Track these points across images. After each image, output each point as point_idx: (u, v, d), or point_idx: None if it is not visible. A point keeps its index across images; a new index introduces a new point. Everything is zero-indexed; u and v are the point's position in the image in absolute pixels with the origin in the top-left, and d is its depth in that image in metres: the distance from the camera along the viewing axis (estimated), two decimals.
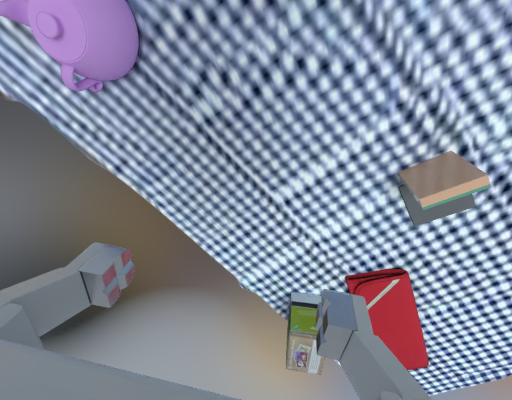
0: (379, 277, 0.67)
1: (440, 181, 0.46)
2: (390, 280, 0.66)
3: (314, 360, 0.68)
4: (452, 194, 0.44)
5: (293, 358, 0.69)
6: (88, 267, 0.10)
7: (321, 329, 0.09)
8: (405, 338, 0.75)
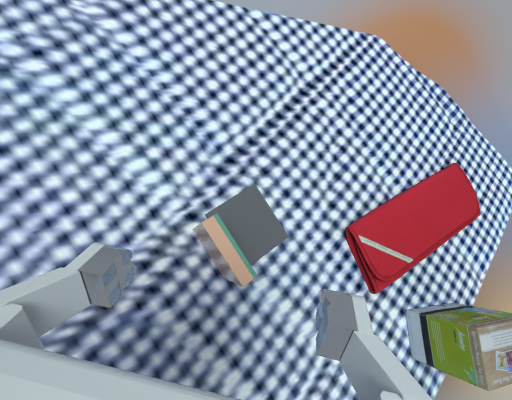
0: (362, 256, 0.53)
1: (220, 258, 0.37)
2: (362, 244, 0.52)
3: None
4: (231, 250, 0.35)
5: None
6: (88, 267, 0.10)
7: (321, 329, 0.09)
8: (431, 201, 0.62)
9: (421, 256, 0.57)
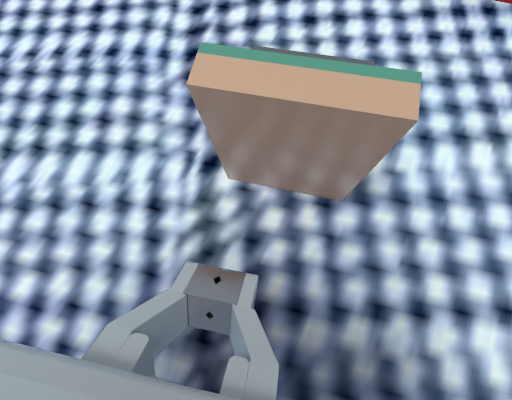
0: None
1: (302, 137, 0.14)
2: None
3: None
4: (306, 77, 0.12)
5: None
6: (193, 289, 0.09)
7: None
8: None
9: None
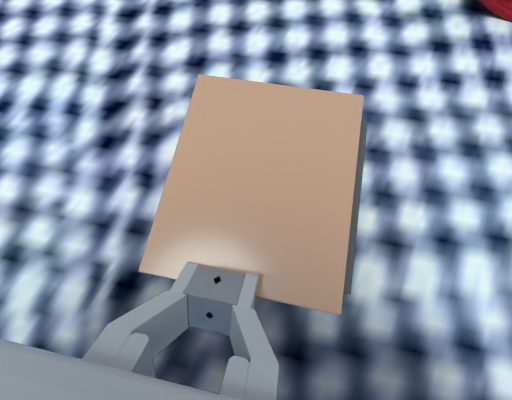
0: None
1: (280, 126, 0.15)
2: None
3: None
4: None
5: None
6: (193, 289, 0.09)
7: None
8: None
9: None
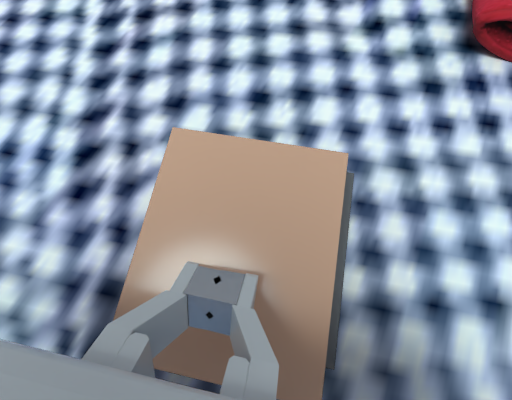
0: None
1: (258, 188, 0.14)
2: None
3: None
4: None
5: None
6: (193, 289, 0.09)
7: None
8: None
9: None
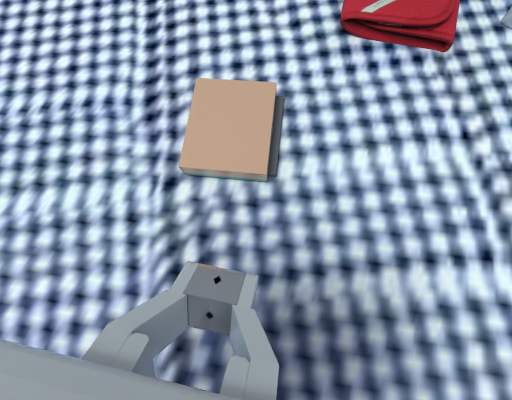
0: (390, 27, 0.35)
1: (237, 100, 0.32)
2: (376, 14, 0.34)
3: None
4: None
5: None
6: (193, 289, 0.09)
7: None
8: None
9: None
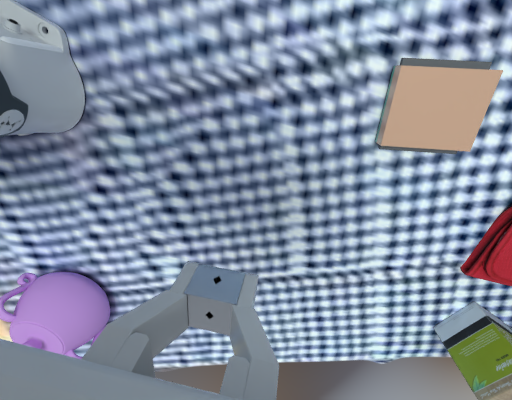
0: (497, 239, 0.43)
1: (461, 116, 0.34)
2: None
3: None
4: None
5: None
6: (193, 289, 0.09)
7: None
8: None
9: None
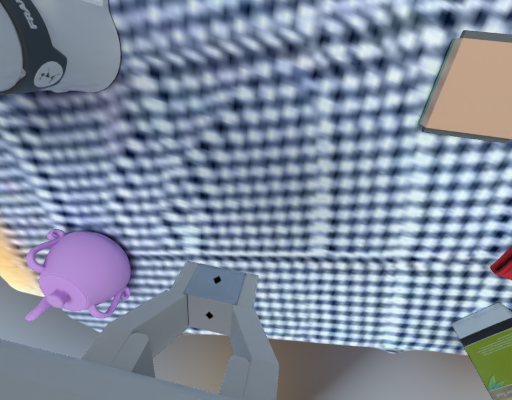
0: None
1: None
2: None
3: None
4: None
5: None
6: (193, 289, 0.09)
7: None
8: None
9: None
